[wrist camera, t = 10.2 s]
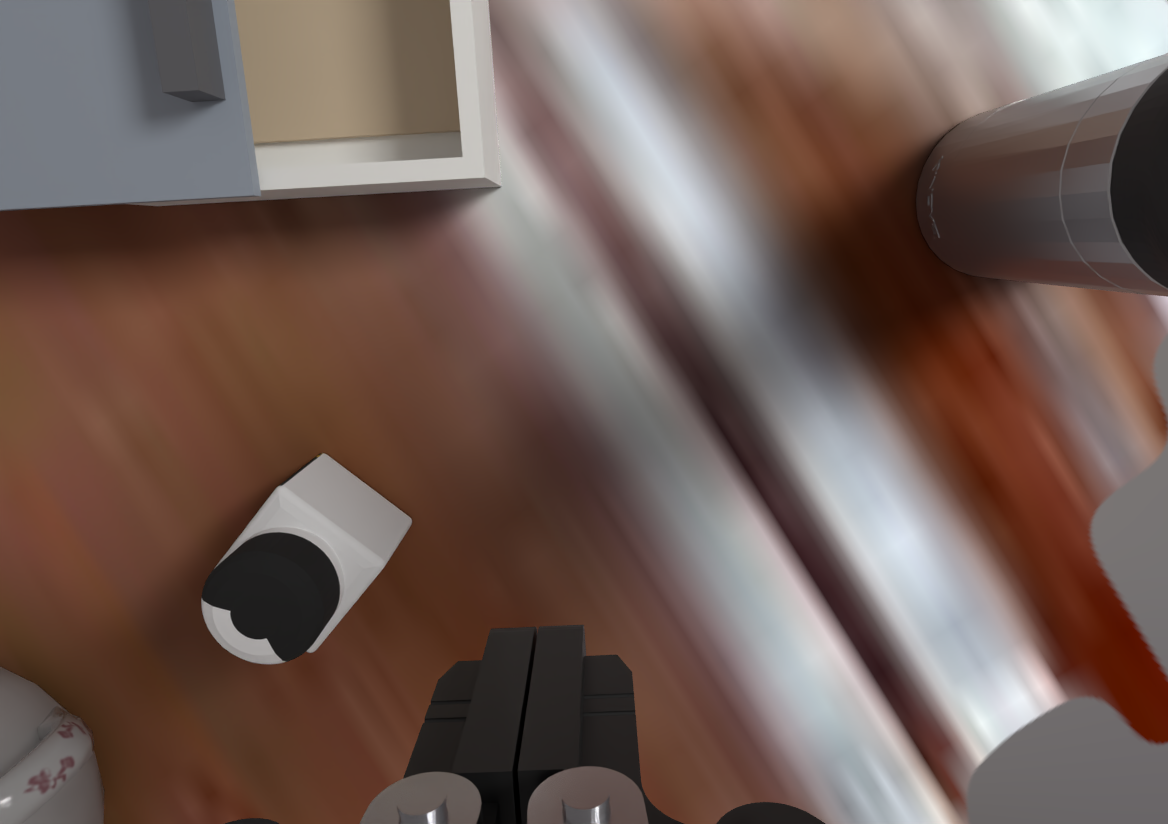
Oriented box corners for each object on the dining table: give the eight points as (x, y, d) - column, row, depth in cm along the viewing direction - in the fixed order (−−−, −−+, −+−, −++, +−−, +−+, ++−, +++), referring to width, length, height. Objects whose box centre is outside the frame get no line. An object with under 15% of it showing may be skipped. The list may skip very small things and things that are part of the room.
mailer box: (475, -172, 41) (451, -254, 34) (502, 186, 45) (484, 177, 38) (98, -146, 41) (0, -222, 34) (157, 206, 45) (79, 200, 38)
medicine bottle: (323, 449, 48) (235, 517, 37) (415, 519, 49) (359, 607, 37) (258, 533, 50) (153, 624, 38) (349, 599, 50) (275, 709, 39)
